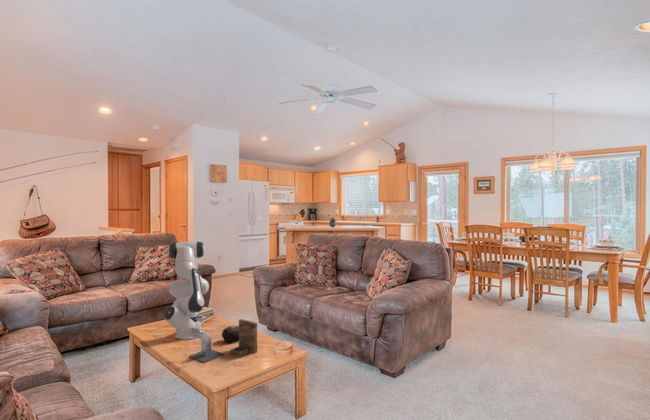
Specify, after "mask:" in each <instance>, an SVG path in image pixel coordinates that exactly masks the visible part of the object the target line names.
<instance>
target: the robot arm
mask: <svg viewBox="0 0 650 420" xmlns="http://www.w3.org/2000/svg"><path fill="white" fill-rule="evenodd" d="M204 244H205V243H204V242H202V241H180V242H172V243H170V244H169V247H168V249H167V252H168V256H169V258H171V259H172V260H173V259H174V260H175V262H174V263H175V264H174V271H175V274H176V275H177V276H178V277H180V278H182V279H178V280H174V281H172V282H171V283H170V284H169V286H168V292H169V294H170V295H171V296H172V297H174V298H175V300H174V301H173V303H172V304H171V306H170V307H167V309H166V310H165V312H164V314H163V315H164V319H165V321H166V322H167V323H168V324H169V325H170V326H171V327H172V328H174V329H175V330H176V331H177V333H176V334H174V338H175V339H180V340H184V341H185V340H192V339H199V340H200V341H201V340H204V341H205V342H208V339H207V338H208V337H210V336H209V334H208V333H207V332H206V331H204V330H203V329H202V327H201V325H202V324H201V322H200V321H199V320H200V318H199V312H201V311H202V310H203V308H204V306H205V304H206V303H205V297H204V295H206V294H207V293H208V291H209V290H210V284H209V282H208V280H206V279H205V278H203V277H202V276H201V274H200V272H199V269H198V259H200V258H202V257H203V256H204V255H205V252H206V247H205V245H204Z"/></svg>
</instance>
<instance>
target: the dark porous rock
mask: <svg viewBox="0 0 650 420" xmlns="http://www.w3.org/2000/svg"><path fill="white" fill-rule="evenodd" d="M221 337H222V338H223V340H224V343H225V344H234V343H238V342H239V325H236V326H235V325H230V326H227V327H225V328H223V330H222V332H221Z"/></svg>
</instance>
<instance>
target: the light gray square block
mask: <svg viewBox="0 0 650 420" xmlns="http://www.w3.org/2000/svg"><path fill="white" fill-rule="evenodd" d="M207 339H208V342H205V341H204V340H201V339H200V341H201V342H200V343H201V345H200V346H201V351H200V352H201V355H203V356H205V357H206V356H209V355H211V349H212V337H210V336H209V337H208V338H207Z"/></svg>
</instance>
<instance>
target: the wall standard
mask: <svg viewBox="0 0 650 420" xmlns="http://www.w3.org/2000/svg"><path fill="white" fill-rule="evenodd" d="M238 326H239V341H238V346H236V347H234V348H232V349H230V355H231V356H233V357H237V358H240V357H243V356H245V355H248V353H252V354H257V353H258V322H254V321H250V320H247V319H243V318H240V319H238Z"/></svg>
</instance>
